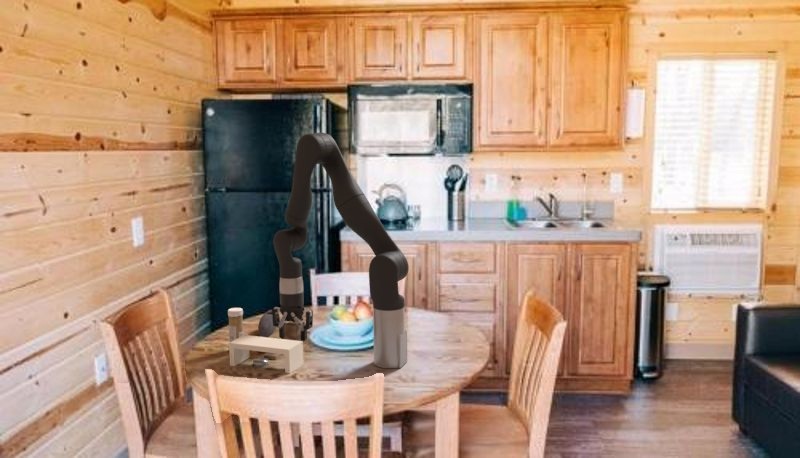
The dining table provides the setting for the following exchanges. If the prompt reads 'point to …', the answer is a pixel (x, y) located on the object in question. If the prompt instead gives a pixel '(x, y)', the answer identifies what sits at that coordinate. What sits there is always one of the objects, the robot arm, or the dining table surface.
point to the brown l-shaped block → (287, 337)
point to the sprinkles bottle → (235, 323)
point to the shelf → (267, 350)
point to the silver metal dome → (260, 362)
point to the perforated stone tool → (266, 324)
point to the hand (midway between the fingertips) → (293, 340)
